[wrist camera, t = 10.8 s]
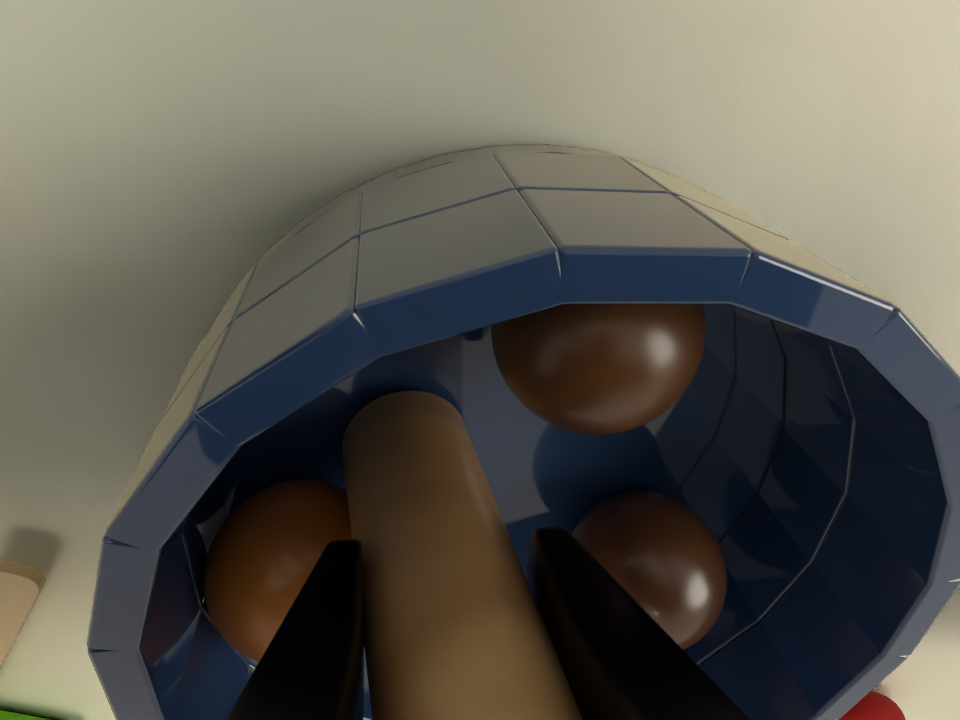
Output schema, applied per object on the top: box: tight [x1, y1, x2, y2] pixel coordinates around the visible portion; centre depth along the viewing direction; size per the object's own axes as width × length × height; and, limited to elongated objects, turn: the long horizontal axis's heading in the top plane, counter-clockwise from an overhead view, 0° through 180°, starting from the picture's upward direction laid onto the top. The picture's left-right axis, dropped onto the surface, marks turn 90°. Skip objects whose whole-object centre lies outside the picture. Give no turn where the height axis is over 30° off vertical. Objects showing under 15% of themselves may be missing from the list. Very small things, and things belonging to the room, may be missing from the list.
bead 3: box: [572, 491, 727, 650], centre depth 12 cm, size 3×3×3 cm
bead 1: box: [204, 479, 352, 662], centre depth 10 cm, size 3×3×3 cm
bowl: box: [87, 144, 960, 720], centre depth 11 cm, size 12×12×4 cm
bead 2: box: [491, 304, 706, 435], centre depth 9 cm, size 3×3×3 cm
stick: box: [342, 390, 583, 720], centre depth 7 cm, size 2×2×9 cm
